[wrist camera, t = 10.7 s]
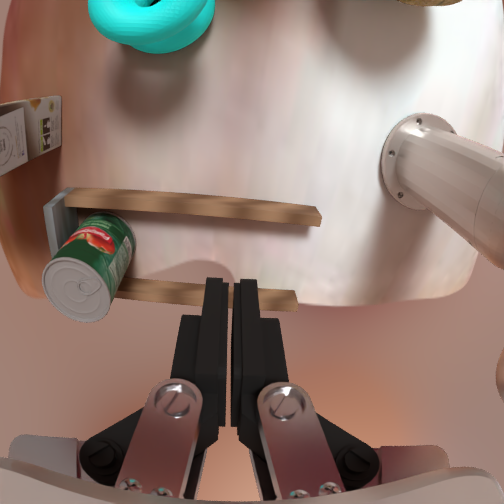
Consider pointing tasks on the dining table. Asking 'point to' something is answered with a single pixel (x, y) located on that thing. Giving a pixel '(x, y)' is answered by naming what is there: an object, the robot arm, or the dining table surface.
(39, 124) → the coffee box
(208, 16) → the donuts
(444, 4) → the cantaloupe
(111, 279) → the canned tomato
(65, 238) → the bay
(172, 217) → the dining table surface
